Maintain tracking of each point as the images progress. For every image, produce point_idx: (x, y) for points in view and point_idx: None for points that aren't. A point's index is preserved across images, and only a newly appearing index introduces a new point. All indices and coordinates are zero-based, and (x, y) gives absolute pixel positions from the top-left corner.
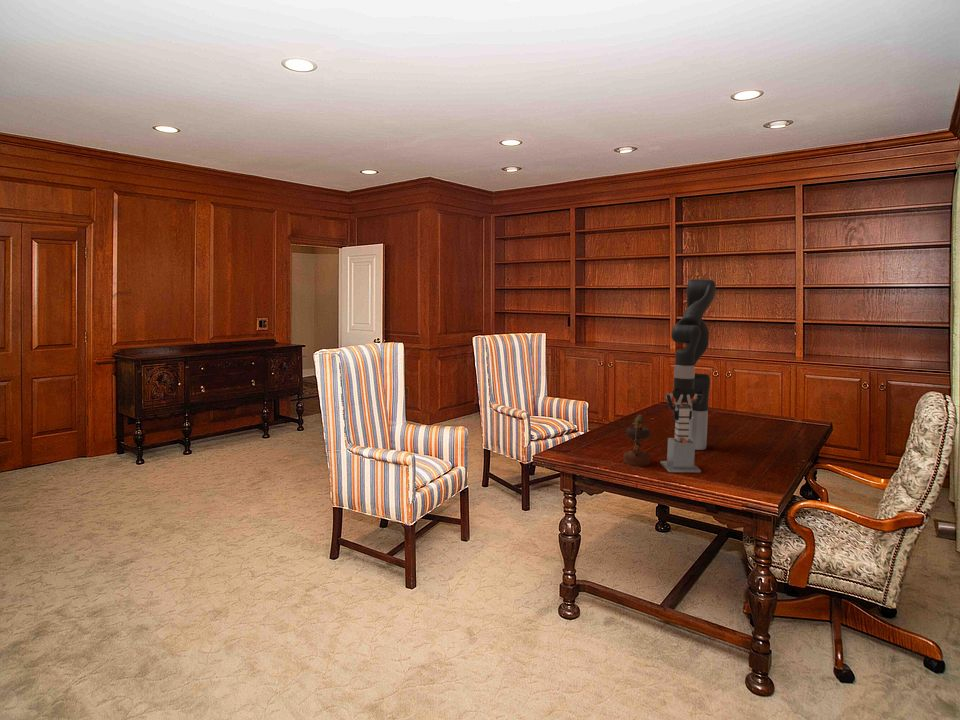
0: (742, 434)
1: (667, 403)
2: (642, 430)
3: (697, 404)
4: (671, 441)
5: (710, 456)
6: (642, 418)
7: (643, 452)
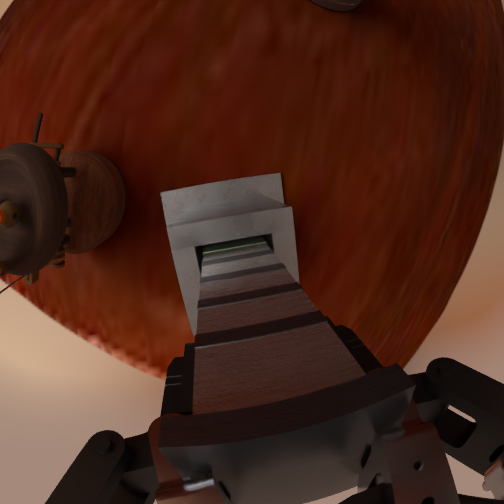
0: None
1: (64, 479)
2: (21, 267)
3: (458, 436)
4: (182, 293)
5: (362, 75)
6: None
7: (89, 179)
